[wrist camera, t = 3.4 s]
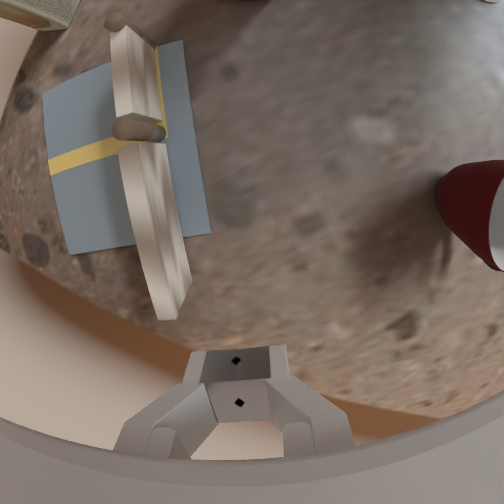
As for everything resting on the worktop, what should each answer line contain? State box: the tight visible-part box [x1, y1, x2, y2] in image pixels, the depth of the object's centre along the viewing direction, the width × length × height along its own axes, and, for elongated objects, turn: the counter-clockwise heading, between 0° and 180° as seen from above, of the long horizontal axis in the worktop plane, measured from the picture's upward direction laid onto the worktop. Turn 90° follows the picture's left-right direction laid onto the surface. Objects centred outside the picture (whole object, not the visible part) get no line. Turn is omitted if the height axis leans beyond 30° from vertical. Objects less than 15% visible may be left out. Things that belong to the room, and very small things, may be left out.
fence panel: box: [117, 142, 193, 320], centre depth 21 cm, size 12×1×6 cm, turn 8°
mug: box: [436, 160, 504, 272], centre depth 19 cm, size 11×8×10 cm
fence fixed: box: [104, 12, 166, 142], centre depth 17 cm, size 9×1×7 cm, turn 8°
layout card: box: [42, 40, 212, 255], centre depth 22 cm, size 17×15×1 cm
